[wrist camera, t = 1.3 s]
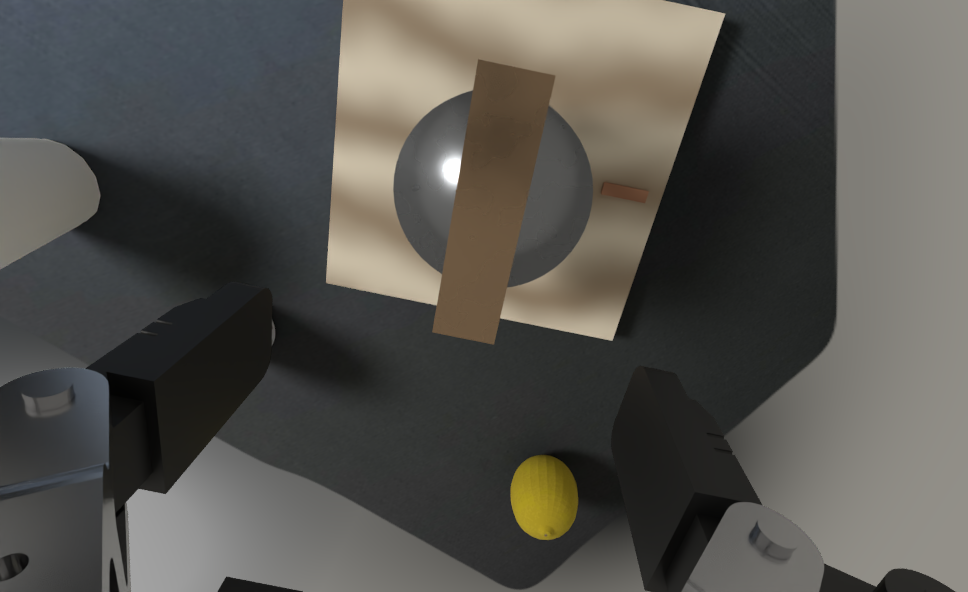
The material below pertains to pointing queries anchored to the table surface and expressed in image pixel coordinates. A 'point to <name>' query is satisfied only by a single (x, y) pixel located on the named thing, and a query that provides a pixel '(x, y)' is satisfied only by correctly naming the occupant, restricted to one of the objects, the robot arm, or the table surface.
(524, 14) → the mounting board
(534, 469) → the lemon
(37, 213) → the foam cup
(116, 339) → the table surface
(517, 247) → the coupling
